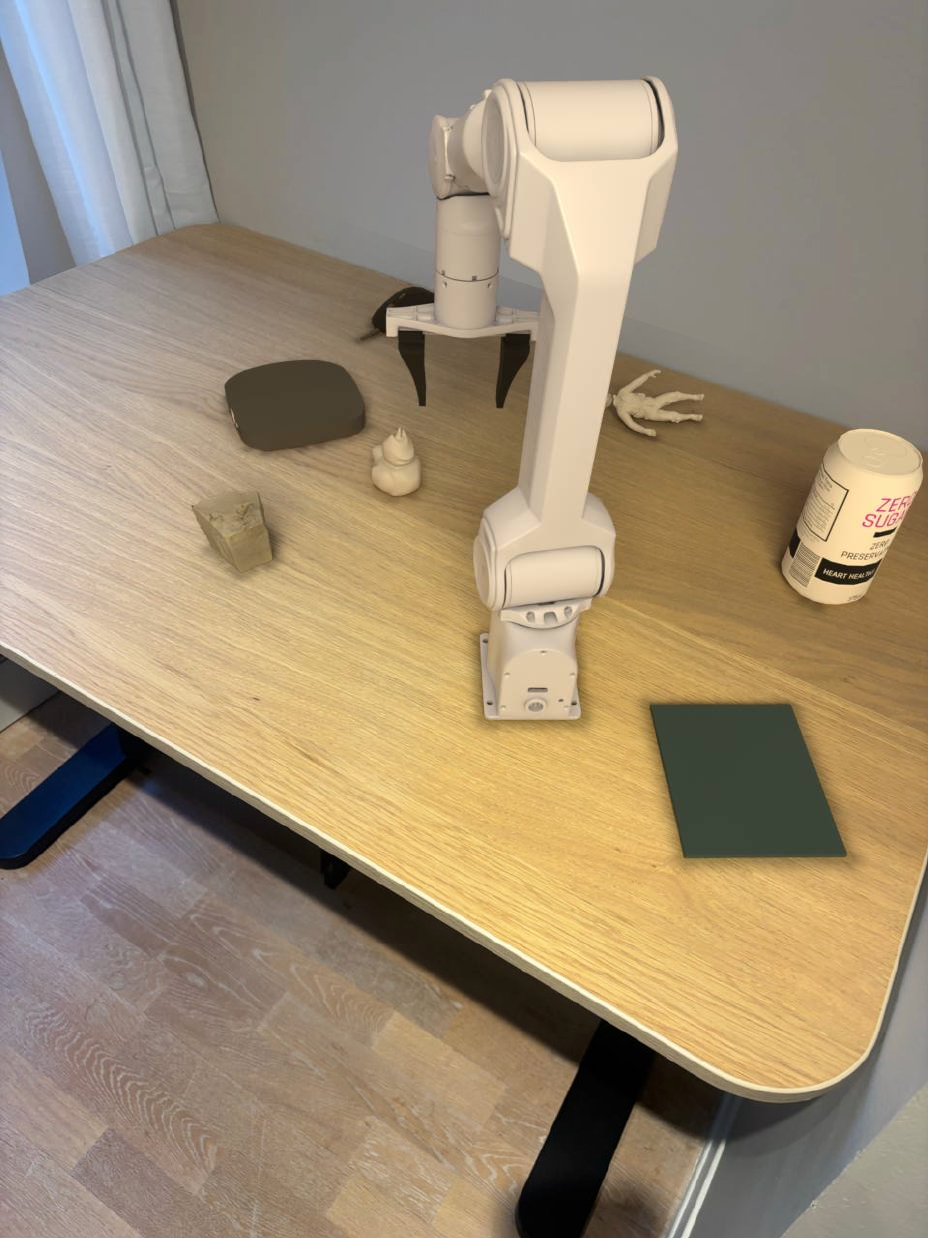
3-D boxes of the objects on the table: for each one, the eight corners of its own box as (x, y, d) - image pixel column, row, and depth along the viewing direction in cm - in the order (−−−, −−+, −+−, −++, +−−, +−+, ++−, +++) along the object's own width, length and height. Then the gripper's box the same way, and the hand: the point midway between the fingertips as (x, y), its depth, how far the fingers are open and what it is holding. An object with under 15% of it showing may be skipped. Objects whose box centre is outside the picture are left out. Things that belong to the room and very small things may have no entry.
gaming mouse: (345, 331, 116) (343, 303, 114) (424, 298, 124) (424, 270, 121) (377, 349, 114) (376, 320, 111) (456, 313, 121) (457, 286, 119)
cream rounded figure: (394, 511, 90) (393, 446, 84) (356, 481, 93) (352, 417, 88) (434, 492, 93) (436, 427, 87) (396, 463, 96) (395, 399, 90)
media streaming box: (374, 435, 100) (373, 412, 97) (246, 458, 95) (242, 435, 93) (339, 372, 109) (337, 350, 107) (221, 391, 105) (217, 369, 103)
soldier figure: (701, 444, 103) (616, 426, 98) (675, 450, 107) (593, 433, 102) (707, 378, 103) (622, 357, 98) (680, 388, 108) (598, 368, 103)
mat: (845, 857, 64) (847, 854, 64) (684, 858, 63) (685, 855, 63) (789, 707, 74) (791, 704, 73) (649, 707, 73) (650, 704, 73)
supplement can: (799, 541, 89) (852, 414, 79) (878, 578, 86) (943, 449, 75) (764, 581, 85) (815, 452, 74) (846, 621, 81) (911, 492, 71)
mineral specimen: (178, 557, 83) (177, 481, 78) (258, 537, 88) (262, 465, 83) (216, 597, 79) (218, 521, 74) (298, 574, 84) (304, 501, 80)
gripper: (544, 251, 81) (530, 382, 90) (387, 246, 80) (389, 379, 90) (551, 285, 76) (535, 420, 85) (383, 280, 75) (387, 416, 85)
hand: (461, 401), depth 87 cm, fingers open, 7 cm apart
